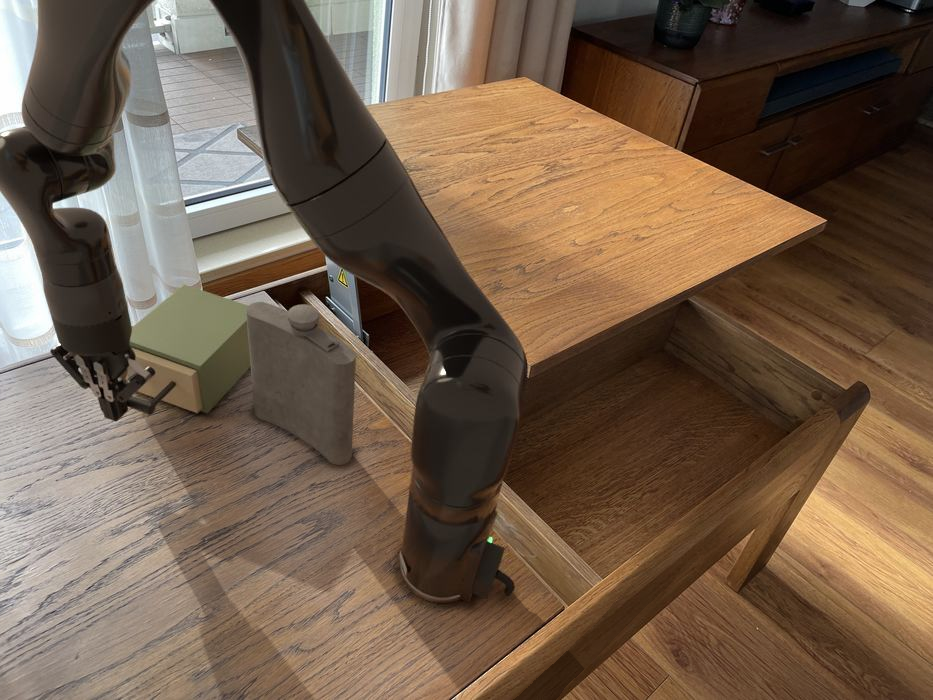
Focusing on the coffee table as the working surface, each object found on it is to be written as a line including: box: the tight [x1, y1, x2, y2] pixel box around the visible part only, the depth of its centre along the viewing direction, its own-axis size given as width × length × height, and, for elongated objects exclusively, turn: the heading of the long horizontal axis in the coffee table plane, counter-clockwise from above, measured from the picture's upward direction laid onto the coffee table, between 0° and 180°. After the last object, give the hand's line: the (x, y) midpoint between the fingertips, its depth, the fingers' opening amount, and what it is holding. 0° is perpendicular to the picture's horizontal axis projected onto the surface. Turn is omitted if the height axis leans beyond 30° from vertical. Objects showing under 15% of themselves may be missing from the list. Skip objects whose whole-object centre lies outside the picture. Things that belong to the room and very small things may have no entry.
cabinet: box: [130, 284, 251, 414], centre depth 99 cm, size 14×12×9 cm
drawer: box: [126, 347, 203, 415], centre depth 96 cm, size 18×11×7 cm, turn 161°
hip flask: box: [246, 301, 357, 466], centre depth 89 cm, size 16×4×20 cm, turn 58°
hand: (116, 415), depth 88 cm, fingers closed
